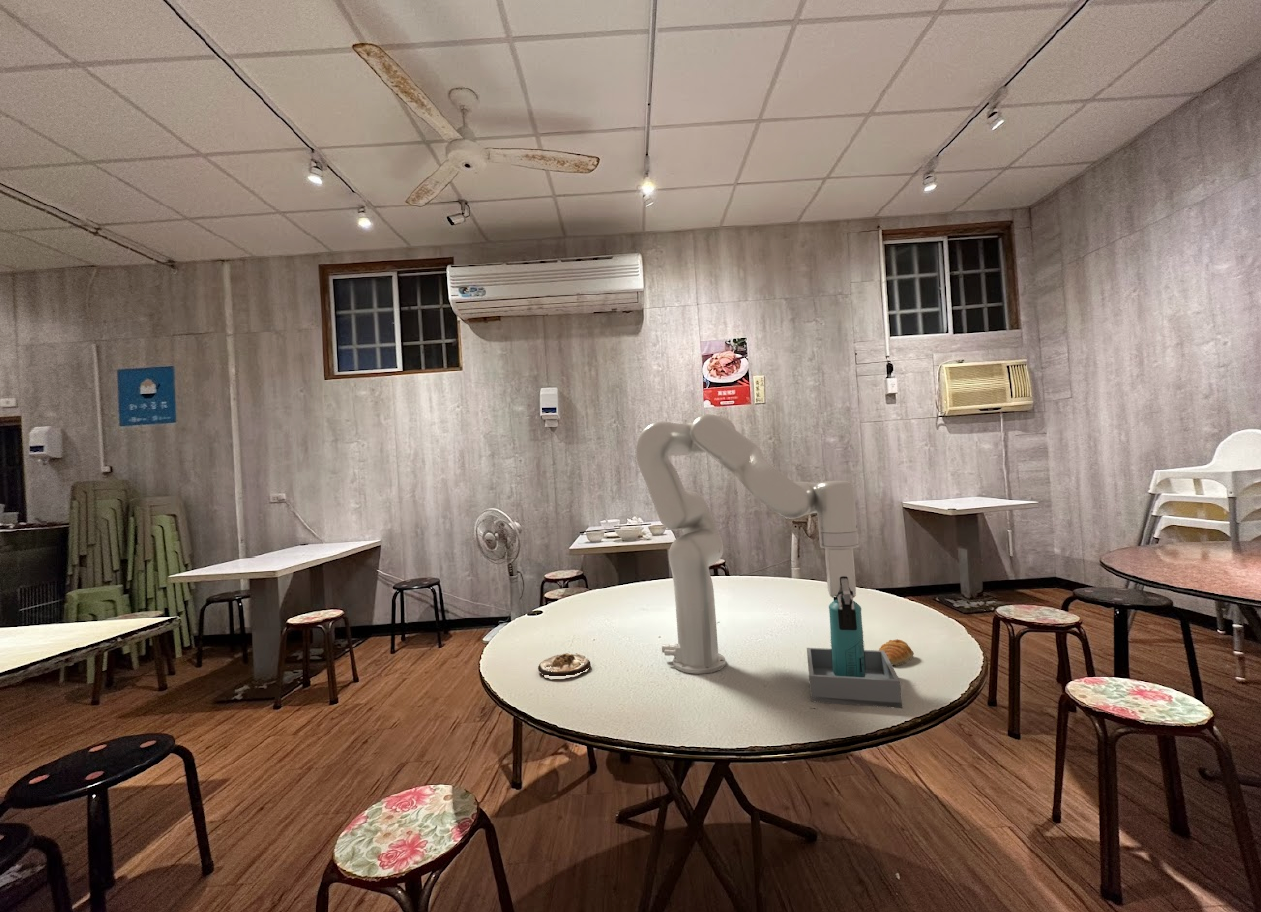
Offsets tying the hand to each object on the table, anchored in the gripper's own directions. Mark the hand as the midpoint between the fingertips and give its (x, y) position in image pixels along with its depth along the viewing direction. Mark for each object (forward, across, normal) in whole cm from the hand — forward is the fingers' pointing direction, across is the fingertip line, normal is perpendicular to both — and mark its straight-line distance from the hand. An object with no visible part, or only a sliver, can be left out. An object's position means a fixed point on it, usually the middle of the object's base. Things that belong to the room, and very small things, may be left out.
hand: (845, 622), depth 103 cm
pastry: (+14, -18, +12) cm, 25 cm away
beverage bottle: (+12, 0, 0) cm, 12 cm away
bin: (+13, 0, 0) cm, 13 cm away
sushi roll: (+14, 0, -65) cm, 67 cm away
